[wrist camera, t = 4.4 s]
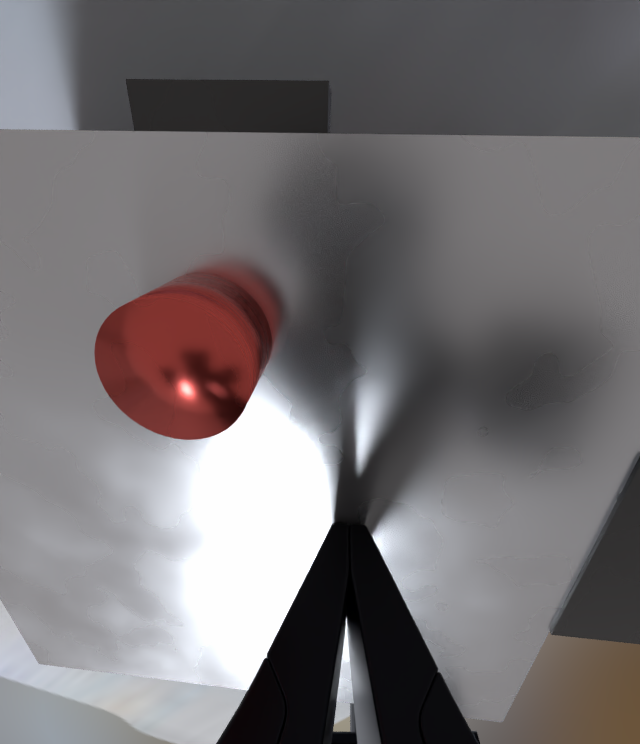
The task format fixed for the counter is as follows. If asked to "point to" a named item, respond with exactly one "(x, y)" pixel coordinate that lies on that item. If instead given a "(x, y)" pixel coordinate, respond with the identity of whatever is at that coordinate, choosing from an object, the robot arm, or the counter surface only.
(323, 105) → the dark grey flat box
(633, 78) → the counter surface
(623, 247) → the grey box lid
